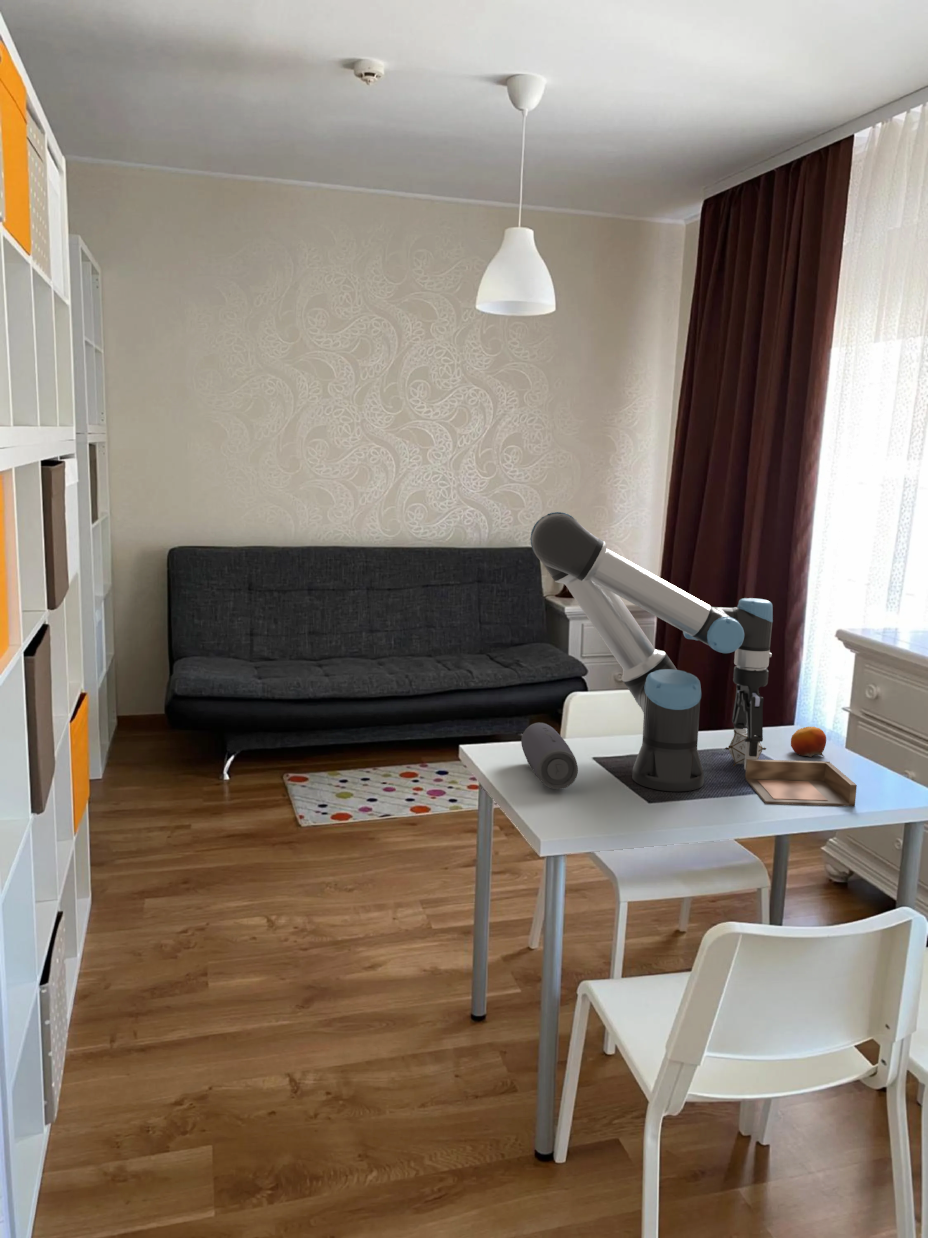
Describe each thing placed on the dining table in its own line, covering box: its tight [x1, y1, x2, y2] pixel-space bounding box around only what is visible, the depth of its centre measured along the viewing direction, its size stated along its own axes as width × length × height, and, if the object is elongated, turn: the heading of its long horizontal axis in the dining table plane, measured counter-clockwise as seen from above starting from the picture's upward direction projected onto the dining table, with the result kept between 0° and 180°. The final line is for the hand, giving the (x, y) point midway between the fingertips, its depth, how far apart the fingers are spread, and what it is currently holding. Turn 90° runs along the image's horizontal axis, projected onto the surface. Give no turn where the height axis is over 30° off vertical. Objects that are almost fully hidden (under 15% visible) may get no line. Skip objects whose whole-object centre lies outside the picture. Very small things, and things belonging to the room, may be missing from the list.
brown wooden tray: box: [744, 759, 858, 807], centre depth 204 cm, size 18×16×4 cm
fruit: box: [790, 726, 827, 758], centre depth 232 cm, size 8×8×8 cm
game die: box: [724, 729, 767, 767], centre depth 222 cm, size 9×8×10 cm
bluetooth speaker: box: [520, 722, 579, 790], centre depth 210 cm, size 23×9×10 cm, turn 6°
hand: (744, 762), depth 223 cm, fingers closed on game die, 10 cm apart
